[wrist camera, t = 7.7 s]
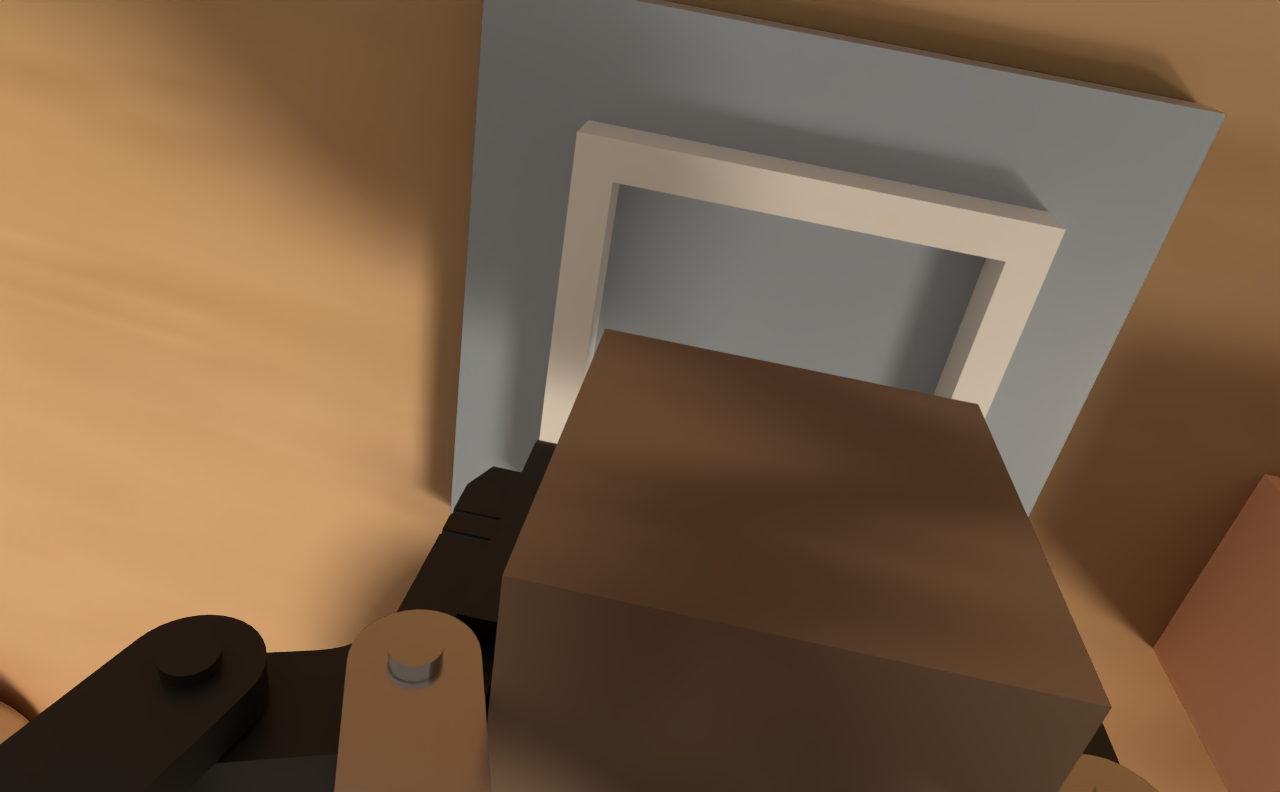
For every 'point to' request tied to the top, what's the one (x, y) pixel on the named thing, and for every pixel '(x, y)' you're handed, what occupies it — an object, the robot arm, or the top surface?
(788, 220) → the baseplate
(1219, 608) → the terracotta cube
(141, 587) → the top surface
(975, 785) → the walnut cube
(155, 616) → the top surface
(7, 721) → the plastic bottle
